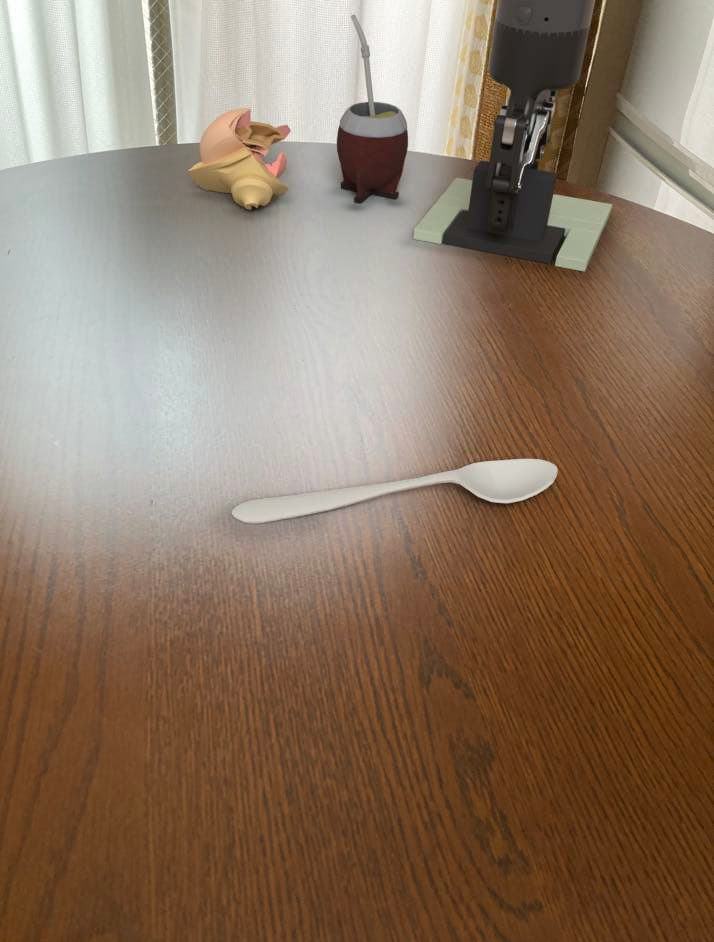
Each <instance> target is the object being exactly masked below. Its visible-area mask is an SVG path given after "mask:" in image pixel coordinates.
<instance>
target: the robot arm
mask: <svg viewBox="0 0 714 942" xmlns="http://www.w3.org/2000/svg"><path fill="white" fill-rule="evenodd" d="M595 3H596V0H497V4H496V12H495V18H494V24H493V25H494V26H493V32H492V41H491V48H490V55H489V62H488V70H487V71H488V74H489V76H490V78H491V79H492V80H493V81H495V82H496V83H497V84H500V85H504V86H506V87H507V88H508V89H509V90H510V94H509V97H508V100H507V103H506V104H502V105H501V107H500V111H499V114H497V115H496V118H495V119H494V121H493V126H494V128H493V135H492V141H491V149H490V154H489V161H488V162H489V168H488V174H487V179H486V182H485V185H486V190H490V191H492V195H491V202H490V208H489V215H488V222H487V230H488V232H490V233H494V234H499V235H505V236H507V235H509V234H510V233H511V231H512V230H513V225H514V219H515V213H516V208H517V202H518V196H519V192H520V191H521V189H522V181H523V177H524V173H525V170H526V169H528V168H530V169H536V170H539V166H540V161H542V159H543V157H545V153H546V152H545V151H546V150H545V148H546V147H547V146H548V144H549V143H550V141H551V137H550V135H551V131H552V124H553V120H554V115H555V111H556V102H557V96H558V93H559V91H562V90H566V89H568V88H571V87H573V86H575V85H576V84H577V83H578V82H579V80H580V78H581V73H582V69H583V63H584V59H585V53H586V48H587V45H588V38H589V34H590V28H591V23H592V20H593V19H592V18H593V13H594V8H595ZM504 165H511V166H512V173H511V178H507V177H501V172H502V168H503V166H504Z"/></svg>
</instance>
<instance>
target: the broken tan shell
mask: <svg viewBox="0 0 714 942" xmlns="http://www.w3.org/2000/svg"><path fill="white" fill-rule="evenodd" d="M251 112H252V109H251V108H250V107H249V108H248V107H241V108H234V109H231V110H228V111H226V112H224V113H222V114H220V115H219V116H218V117H216V118H215V119H214V120H213V121H211V122H210V124H209V125H208V126H207V127H206V129H205V130H204V132H203V134H202V136H201V137H200V138H201V139H200V142H199V156H200V160H201V161H199V162H197V163H195V164H194V165H193V166H192V167H191V168H189V169H188V170H187V172H188V173H189V176H190V177H191V178H192V180H193V181H194V182H195V183H196V184H197V185H198V187H200V188H201V189H202V190H204V191H212V192H217V193H224V194H231V195H232V198H233V201H234V202H235V203H236V204H237V205H239V206H241V207H243V208H244V209H246V210H249V211H250V210H252V207H255V208H256V209H258V207H259V206H262V207H265V206H267V205H268V204H269V203H270V201H271V200H272V197H273V195H275V196H276V197H279V196H281V195H283V194H285V193H286V192H287V191H289V190H290V188H289V187H288V186H286V184H285V183H284V182H282V181H281V180H280V179H279V178H280V177H281V176H282V175H283V174H284V173H285V171H286V170H287V166H288V165H287V164H288V161H287V160H288V159H287V157H286V154H285V153H284V152H283V151H282V152H279V154H278V156H277V159H276V161H272V164H270V163H265V162H264V161H263V159H262V158H261V156H262V157H264V158H265V157H266V156H267V154H268V152H269V149H270V147H271V146H272V145H274V144H277V143H279V142H281V141H284V140H285V139H286V138H287V137H288V135H290V133H291V132H292V130H291V128H290V127H289V126H288V124H283V125H278V126H273V125H272V124H270V123H266V122H265V123H264V122H259V121H253V120H251Z"/></svg>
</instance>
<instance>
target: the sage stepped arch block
mask: <svg viewBox="0 0 714 942" xmlns="http://www.w3.org/2000/svg"><path fill="white" fill-rule="evenodd" d="M472 181H473V179H466V178H461V177H455V179H453V180H452V182H451V183H450V184H449V186H448V187H447V188H446V190H445V191H443V192H442V194H441V196H439V198H437V200H436V201H435V203H434V204H433V205H432V206H431V207H430V209H429V210H428V211H427V213H426V214H425V215H424V216H423V217H422V219H420V221H419V222H418V223H417V225H416V226H415V227H414V229H413V235H412V236H413V237H412V239H413V240H416V241H417V240H418V241H422V242H427V243H432V244H437V245H441V244H442V243H444V236H445V233H446V231H447V230H448V229H449V227H450V226H451V225H452V223H453V222H454V221H455V219H456V218H457V217H458V215H459V214H460V213H461V211H462V210H466V211H468V210H469V202H470V195H471V188H472ZM612 209H613V204H612V203H608V202H603V201H602V202H601V201H596V200H591V199H584V198H577V197H572V196H566V195H561V194H553V199H552V204H551V209H550V214H549V219H548V224H547V225H549V226H554V227H560V228H565V234H564V238H565V239H564V241H563V242H562V245H561V246H560V248H559V251H558V252H557V255H556V256H555V257H556V258H555V261H554V267H558V268H563V269H568V270H573V271H579V272H586V270H587V268H588V265H589V263H590V260H591V258H592V256H593V254H594V252H595V250H596V247H597V246H598V242H599V240H600V238H601V236H602V234H603V232H604V229H605V228H606V225H607V222H608V220H609V218H610V216H611V213H612Z"/></svg>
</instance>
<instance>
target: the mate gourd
mask: <svg viewBox="0 0 714 942" xmlns="http://www.w3.org/2000/svg"><path fill="white" fill-rule="evenodd" d="M350 18H351V21H352V23H353V25H354V28H355V31H356V33H357V36H358V38H359V41H360V45H361V46H360V52H361V58H362V59H363V66H364V67H363V68H364V77H365V85H366V95H367V101H364V102H358V103H353V104H352V105H350V106H349V107H348V108H347V109H346V110H345V111H344V113H343V115H342V116H341V118H340V120H339V126H338V129H337V135H336V153H337V157H338V160H339V163H340V165H339V166H340V169H341V175H342V180H343V181H341V182H340V189H343V190H348V191H352V192H356V195H355V196H354V197H353V200H354V201H353V202H354V203H355V204H362V203H364V202H365V201H366V200H367V199H368V198H369V197H371V196H377V197H383V198H387V199H393V200H397V199H398V198H399V195H400V192H399V191H397V189H398V186H399V183H400V181H401V178H402V175H403V173H404V167H405V161H406V157H407V154H408V148H409V133H408V122H407V120H406V117H405V115H404V113H403V111H402V110H401V109H400V108H399V107H397V106H396V105H394V104H391V103H387V102H381V101H375V100H374V94H373V83H372V74H371V73H372V71H371V64H370V62H371V61H370V57H371V52H370V46H369V45H368V43H367V42H368V41H367V38H366V35H365V33H364V30H363V28H362V26H361V24H360V22H359V20H358V18H357V16H356V14H351V16H350Z"/></svg>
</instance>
